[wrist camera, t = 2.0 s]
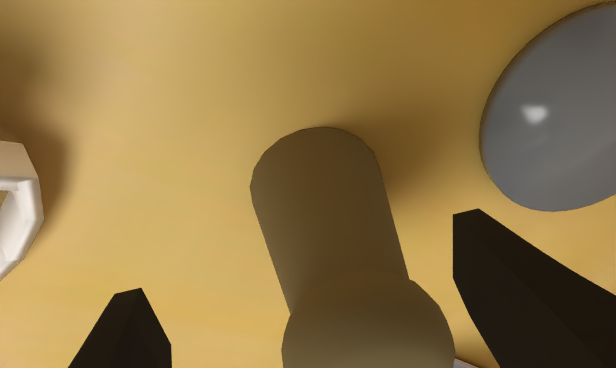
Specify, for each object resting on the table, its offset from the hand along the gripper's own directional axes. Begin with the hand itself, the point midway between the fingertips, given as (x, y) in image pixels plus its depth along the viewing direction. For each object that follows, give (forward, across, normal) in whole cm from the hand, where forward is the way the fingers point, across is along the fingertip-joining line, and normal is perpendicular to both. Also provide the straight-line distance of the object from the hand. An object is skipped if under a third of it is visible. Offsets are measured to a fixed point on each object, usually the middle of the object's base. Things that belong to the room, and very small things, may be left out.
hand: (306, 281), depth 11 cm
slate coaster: (+10, -14, +4) cm, 18 cm away
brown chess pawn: (+11, -1, +5) cm, 12 cm away
